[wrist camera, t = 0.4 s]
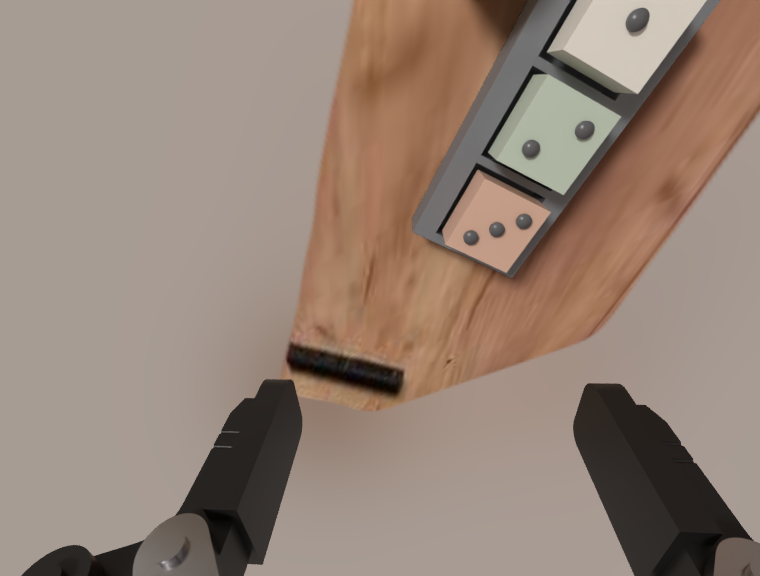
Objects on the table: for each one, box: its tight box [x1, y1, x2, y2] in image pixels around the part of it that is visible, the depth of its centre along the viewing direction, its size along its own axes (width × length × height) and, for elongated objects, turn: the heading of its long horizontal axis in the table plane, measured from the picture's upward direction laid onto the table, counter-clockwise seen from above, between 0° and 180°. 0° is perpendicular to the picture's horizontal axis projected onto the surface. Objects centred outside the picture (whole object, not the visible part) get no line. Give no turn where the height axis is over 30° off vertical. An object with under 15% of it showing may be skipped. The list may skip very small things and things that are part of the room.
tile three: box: [442, 170, 551, 273], centre depth 29 cm, size 6×6×3 cm
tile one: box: [547, 0, 707, 94], centre depth 22 cm, size 6×6×3 cm
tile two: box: [488, 74, 621, 195], centre depth 25 cm, size 6×6×3 cm
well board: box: [412, 0, 720, 278], centre depth 28 cm, size 22×10×4 cm, turn 156°
